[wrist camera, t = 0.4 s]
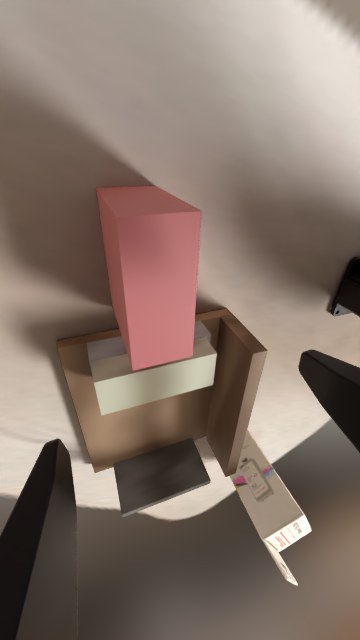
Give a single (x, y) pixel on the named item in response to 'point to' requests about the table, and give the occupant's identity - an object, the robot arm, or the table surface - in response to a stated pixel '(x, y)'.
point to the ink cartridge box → (268, 503)
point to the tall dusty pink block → (151, 270)
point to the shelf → (164, 407)
